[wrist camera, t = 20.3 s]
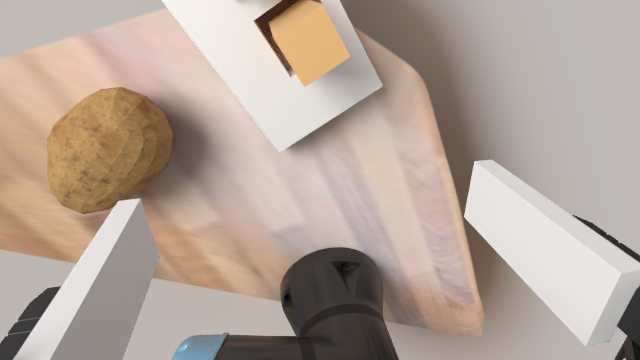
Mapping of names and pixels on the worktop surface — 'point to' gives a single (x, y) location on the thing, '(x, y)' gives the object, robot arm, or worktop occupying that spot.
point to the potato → (107, 149)
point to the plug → (308, 40)
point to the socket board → (275, 66)
